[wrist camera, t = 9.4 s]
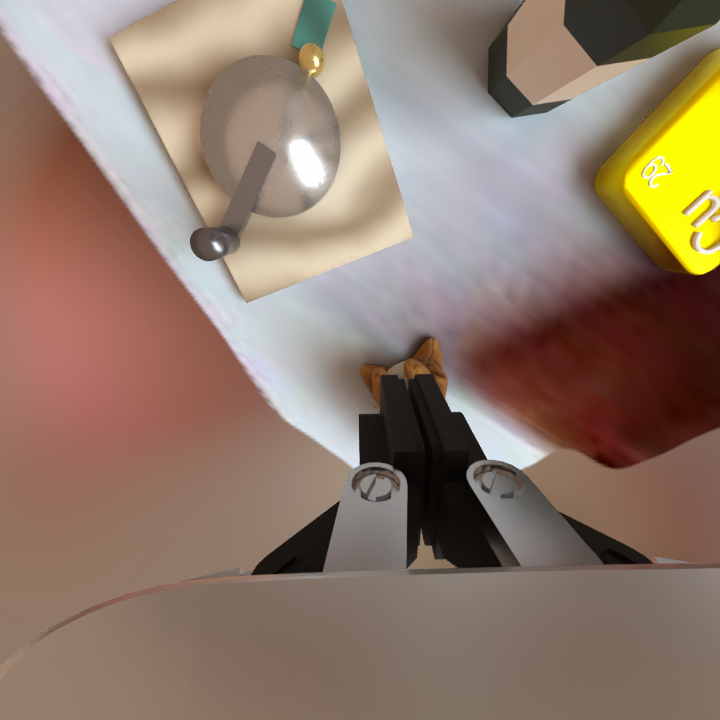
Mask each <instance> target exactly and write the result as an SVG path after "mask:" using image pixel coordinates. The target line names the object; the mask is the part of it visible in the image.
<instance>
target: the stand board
mask: <svg viewBox="0 0 720 720" xmlns="http://www.w3.org/2000/svg"><path fill="white" fill-rule="evenodd" d="M109 39H110V41H111V43H112V45H113V47H114V49H115V51H116V53H117V54H118V56H119V58H120V60H121V62H122V64H123V66H124V68H125V70H126V72H127V74H128V76H129V78H130V79H131V81H132V83H133V85H134V87H135V89H136V91H137V93H138V95H139V97H140V99H141V101H142V103H143V104H144V106H145V108H146V110H147V112H148V114H149V116H150V118H151V120H152V122H153V124H154V126H155V128H156V129H157V131H158V133H159V135H160V137H161V139H162V141H163V143H164V145H165V147H166V149H167V151H168V153H169V154H170V156H171V158H172V160H173V162H174V164H175V166H176V168H177V170H178V172H179V174H180V176H181V178H182V179H183V181H184V183H185V185H186V187H187V189H188V191H189V193H190V195H191V197H192V199H193V201H194V203H195V204H196V206H197V208H198V210H199V212H200V214H201V216H202V218H203V220H204V222H205V224H206V226H207V228H208V227H217V226H220V224H221V221H222V219H223V217H224V215H225V212H226V210H227V208H228V206H229V204H230V201H231V198H230V197H229V196H228V195H227V194H226V193H225V192H224V191H223V190H222V189H221V188H220V186H219V185H218V183H217V182H216V180H215V179H214V177H213V175H212V174H211V172H210V170H209V167H208V165H207V163H206V160H205V157H204V153H203V150H202V144H201V138H200V118H201V112H202V107H203V103H204V100H205V97H206V95H207V93H208V90H209V88H210V87H211V85H212V83H213V82H214V80H215V79H216V78H217V77H218V75H219V74H220V73H221V72H222V71H223V70H224V69H226V68H227V67H228V66H229V65H231V64H233V63H234V62H236V61H238V60H240V59H243V58H246V57H249V56H254V55H272V56H278V57H281V58H284V59H287V60H289V61H291V62H293V63H295V64H297V65H299V60H298V57H299V52H300V49H301V48H302V46H303V45H305V44H306V43H309V42H312V43H315V44H317V45H319V46H320V47H321V49H322V50H323V52H324V55H325V61H326V63H325V68H324V71H323V72H322V74H321V75H320V76H318V77H316V78H314V79H315V80H316V81H317V82H318V83H319V84H320V85H321V87H322V88H323V90H324V91H325V93H326V94H327V96H328V98H329V100H330V102H331V104H332V106H333V109H334V111H335V114H336V117H337V121H338V125H339V130H340V137H341V161H340V166H339V170H338V173H337V176H336V179H335V181H334V183H333V185H332V187H331V189H330V190H329V192H328V193H327V195H326V196H325V197H324V198H323V199H322V200H321V201H320V202H319V203H318V204H317V205H316V206H314V207H313V208H312V209H310V210H308V211H306V212H304V213H302V214H299V215H296V216H291V217H281V218H273V217H266V216H262V215H258V214H255V213H252V215H251V217H250V219H249V221H248V223H247V225H246V227H245V229H244V231H243V233H242V236H241V238H240V247H239V249H238V250H237V251H236V252H235V253H233V254H230V255H228V256H225V257H223V258H224V260H225V262H226V264H227V266H228V268H229V270H230V272H231V274H232V276H233V278H234V279H235V281H236V283H237V285H238V287H239V289H240V291H241V293H242V295H243V297H244V299H245V301H246V303H248V302H250V301H253V300H256V299H258V298H261V297H263V296H266V295H268V294H271V293H273V292H276V291H278V290H281V289H283V288H286V287H288V286H291V285H293V284H296V283H298V282H301V281H303V280H306V279H308V278H311V277H313V276H316V275H318V274H321V273H323V272H326V271H328V270H331V269H334V268H336V267H339V266H341V265H344V264H346V263H349V262H351V261H354V260H356V259H359V258H361V257H364V256H366V255H369V254H371V253H374V252H376V251H379V250H381V249H384V248H386V247H389V246H391V245H394V244H396V243H399V242H401V241H404V240H406V239H409V238H411V237H414V236H413V233H412V230H411V227H410V223H409V220H408V217H407V213H406V210H405V207H404V203H403V200H402V197H401V194H400V190H399V187H398V184H397V180H396V177H395V174H394V171H393V167H392V164H391V161H390V157H389V154H388V151H387V147H386V144H385V141H384V138H383V134H382V131H381V128H380V124H379V121H378V118H377V114H376V111H375V108H374V105H373V101H372V98H371V95H370V91H369V88H368V85H367V82H366V78H365V75H364V72H363V68H362V65H361V62H360V58H359V55H358V52H357V49H356V45H355V42H354V39H353V35H352V32H351V29H350V25H349V22H348V19H347V16H346V12H345V9H344V6H343V2H342V0H178V1H176V2H174V3H172V4H171V5H169V6H167V7H165V8H163V9H161V10H159V11H157V12H156V13H154V14H152V15H150V16H148V17H146V18H144V19H143V20H141V21H139V22H137V23H135V24H133V25H131V26H129V27H128V28H126V29H124V30H122V31H120V32H118V33H116V34H115V35H113V36H111V37H109ZM299 66H300V65H299Z"/></svg>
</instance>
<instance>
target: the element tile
mask: <svg viewBox="0 0 720 720" xmlns="http://www.w3.org/2000/svg"><path fill="white" fill-rule="evenodd" d="M594 187H595V192H596V194H597V196H598V197H599V198H600V200H601V201H602V202H603V203H604V204H605V206H606V207H607V208H608V209H609V210H610V211H611V213H612V214H613V215H614V216H615V217H616V218H617V220H618V221H619V222H620V223H621V224H622V226H623V227H624V228H625V229H626V230H627V231H628V233H629V234H630V235H631V236H632V237H633V238H634V240H635V241H636V242H637V243H638V244H639V245H640V247H641V248H642V249H643V250H644V251H645V253H646V254H647V255H648V256H649V257H650V258H651V260H652V261H653V262H654V263H655V264H656V265H657V266H658V267H660V268H662V269H665V270H670V271H675V272H681V273H686V274H691V275H701V274H705V273H707V272H709V271H711V270H713V269H715V268H716V267H717V266H718V265H720V48H718V49H716V50H714V51H713V52H711V53H709V54H708V55H707V56H706V57H705V58H703V59H702V60H701V62H700V63H699V64H698V65H697V66H696V67H695V68H694V69H693V70H692V71H691V72H690V73H689V74H688V75H687V76H686V77H685V78H684V79H683V80H682V81H681V83H680V84H679V85H678V86H677V87H676V88H675V89H674V90H673V91H672V92H671V93H670V94H669V95H668V96H667V97H666V98H665V99H664V100H663V101H662V102H661V104H660V105H659V106H658V107H657V108H656V109H655V110H654V111H653V112H652V113H651V114H650V115H649V116H648V117H647V118H646V119H645V120H644V121H643V122H642V123H641V125H640V126H639V127H638V128H637V129H636V130H635V131H634V132H633V133H632V134H631V135H630V136H629V137H628V138H627V139H626V140H625V141H624V142H623V143H622V144H621V146H620V147H619V148H618V149H617V150H616V151H615V152H614V153H613V154H612V155H611V156H610V157H609V158H608V159H607V160H606V161H605V162H604V163H603V164H602V166H601V167H600V169H599V170H598V172H597V175H596V177H595V181H594Z"/></svg>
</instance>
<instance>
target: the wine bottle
mask: <svg viewBox="0 0 720 720" xmlns="http://www.w3.org/2000/svg"><path fill="white" fill-rule="evenodd" d="M719 20H720V0H524V1H523V2H522V4H521V5H520V6H519V7H518V9H517V10H516V11H515V13H514V14H513V15H512V17H511V18H510V20H509V21H508V22H507V24H506V25H505V27H504V28H503V29H502V31H501V32H500V34H499V35H498V36H497V38H496V39H495V40H494V42H493V43H492V45H491V46H490V47H489V64H488V93H489V94H490V95H491V96H492V97H493V98H494V99H495V100H496V101H497V102H498V103H499V104H500V105H501V106H502V108H503V109H504V110H505V111H506V112H507V113H508V114H509V115H510V116H511V117H512V118H513V117H519V116H526V115H532V114H539V113H546V112H548V111H550V110H552V109H554V108H556V107H558V106H559V105H561V104H563V103H565V102H567V101H569V100H571V99H573V98H575V97H577V96H579V95H581V94H582V93H584V92H586V91H588V90H590V89H592V88H594V87H596V86H598V85H600V84H602V83H604V82H605V81H607V80H609V79H611V78H613V77H615V76H617V75H619V74H621V73H623V72H625V71H627V70H628V69H630V68H632V67H634V66H636V65H638V64H640V63H642V62H644V61H646V60H648V59H650V58H651V57H653V56H655V55H657V54H659V53H661V52H663V51H665V50H667V49H669V48H671V47H673V46H674V45H676V44H678V43H680V42H682V41H684V40H686V39H688V38H690V37H692V36H694V35H696V34H697V33H699V32H701V31H703V30H705V29H707V28H709V27H711V26H713V25H715V24H716V23H717V22H718V21H719Z"/></svg>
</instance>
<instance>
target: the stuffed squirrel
mask: <svg viewBox="0 0 720 720" xmlns="http://www.w3.org/2000/svg"><path fill="white" fill-rule="evenodd" d="M360 373H361V376H362V378H363V380H364V382H365V384H366V386H367V387H368V389H369V390H370V392H371V393H372V394H373V397H374V399H375V400H376V401H377V402H378V403H377V404H380V376H381V375H398V378H399V379H404V380H405V383H406V386H407V390H408V380H409V379H414V376H415V374H433V376H434V378H435V380H436V382H437V384H438V386H439V388H440V390H441V392H442V394H443V396H444V398H445V396H446V391H447V385H448V379H447V376H446V374H445V373H444V371H443V369H442V352H441V348H440V345H439V342H438V340H437V339H436V338H433V339H432V338H430V339H427V340H426V341H425V343H424V344H423V345H422V346H421V348H420V349H419V350H418V352H417V353H416V354H415V355H414V357H413V358H409V359H407V361H403V362H400V363H398V364H395V365H394V366H392V367H391V368H390V369H389V368H386V367H383V366H377V365H366V364H364V365H363V366H362V367H361V369H360ZM373 408H380V406H379V407H378V406H374V405H373Z"/></svg>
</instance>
